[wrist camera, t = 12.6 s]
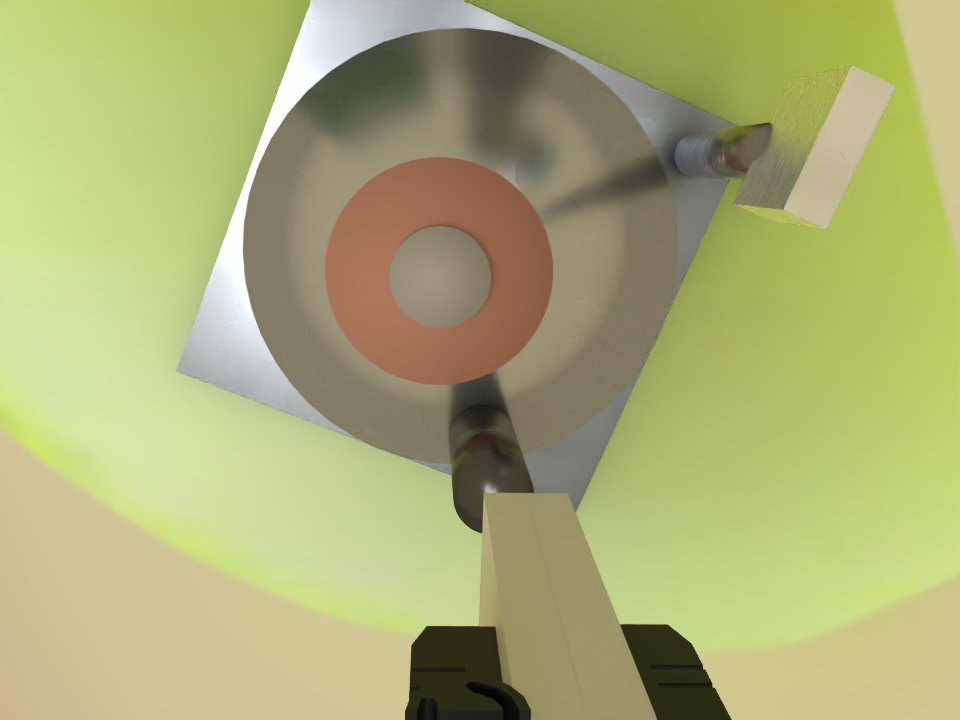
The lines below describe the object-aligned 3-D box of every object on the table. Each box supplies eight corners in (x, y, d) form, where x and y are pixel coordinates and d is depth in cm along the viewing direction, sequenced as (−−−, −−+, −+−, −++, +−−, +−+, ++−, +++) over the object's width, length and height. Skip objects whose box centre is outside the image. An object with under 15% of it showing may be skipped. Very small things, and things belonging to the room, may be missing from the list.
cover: (323, 169, 30) (305, 169, 26) (530, 148, 30) (548, 145, 26) (350, 371, 32) (337, 404, 27) (546, 350, 32) (566, 379, 27)
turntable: (220, 56, 31) (154, 21, 23) (653, 15, 31) (725, -33, 24) (285, 476, 34) (245, 564, 26) (676, 432, 34) (744, 505, 27)
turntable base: (338, -63, 31) (283, -207, 19) (747, 125, 33) (929, 101, 21) (182, 366, 34) (48, 475, 22) (568, 513, 36) (640, 685, 24)
